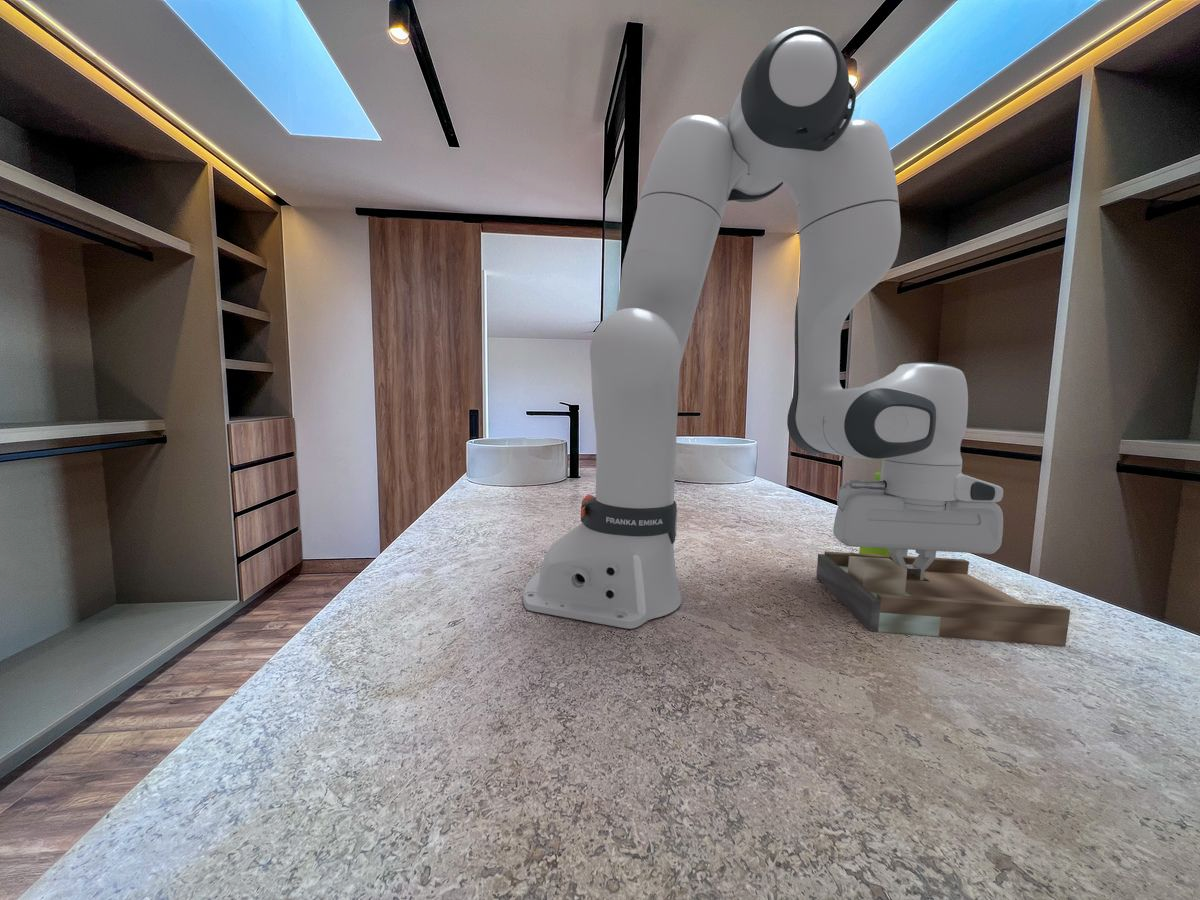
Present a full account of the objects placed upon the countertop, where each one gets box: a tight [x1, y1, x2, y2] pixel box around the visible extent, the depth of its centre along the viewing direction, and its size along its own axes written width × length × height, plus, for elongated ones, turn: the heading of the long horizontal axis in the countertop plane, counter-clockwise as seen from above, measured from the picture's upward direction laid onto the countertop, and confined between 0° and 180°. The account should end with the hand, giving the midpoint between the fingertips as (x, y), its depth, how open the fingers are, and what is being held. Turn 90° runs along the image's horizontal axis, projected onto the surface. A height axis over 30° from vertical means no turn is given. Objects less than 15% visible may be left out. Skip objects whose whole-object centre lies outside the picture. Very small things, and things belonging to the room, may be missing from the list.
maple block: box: [848, 556, 907, 594], centre depth 60 cm, size 6×4×4 cm
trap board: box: [815, 551, 1071, 647], centre depth 60 cm, size 22×17×4 cm
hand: (908, 578), depth 60 cm, fingers closed
